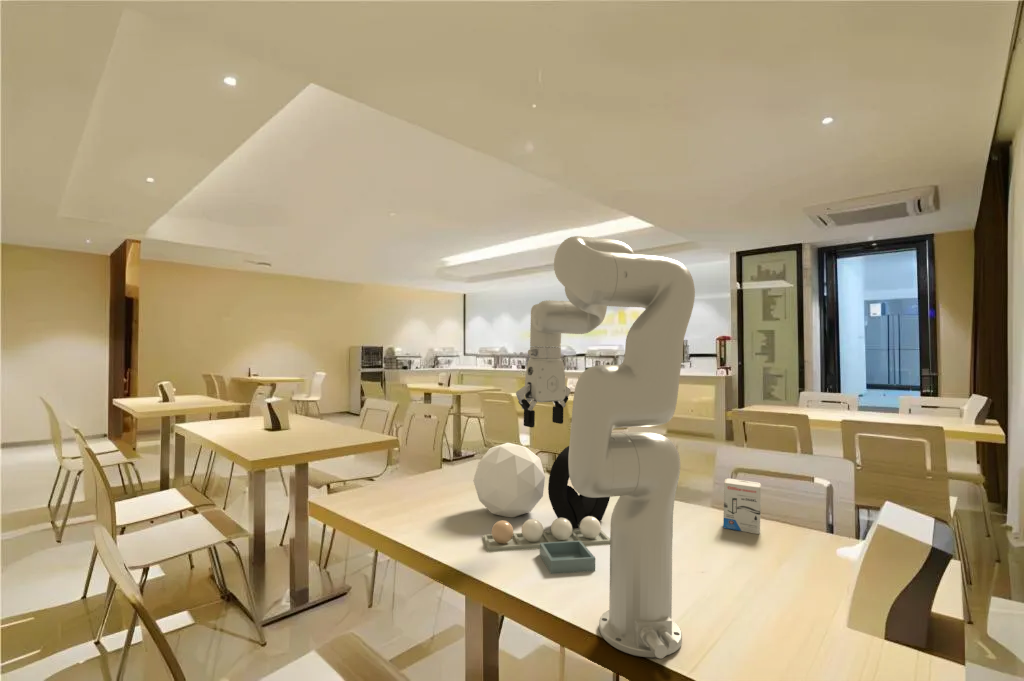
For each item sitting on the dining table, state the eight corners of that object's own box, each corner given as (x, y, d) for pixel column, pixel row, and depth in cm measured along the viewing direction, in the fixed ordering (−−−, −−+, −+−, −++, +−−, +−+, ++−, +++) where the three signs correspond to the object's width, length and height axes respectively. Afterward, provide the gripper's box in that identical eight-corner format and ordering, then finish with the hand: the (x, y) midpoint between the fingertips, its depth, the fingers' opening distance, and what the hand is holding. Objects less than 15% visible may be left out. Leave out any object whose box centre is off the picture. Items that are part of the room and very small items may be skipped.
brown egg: (515, 546, 110) (515, 524, 110) (493, 548, 109) (493, 525, 109) (511, 538, 115) (511, 516, 115) (489, 539, 114) (490, 517, 114)
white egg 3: (604, 541, 114) (604, 519, 114) (583, 542, 113) (583, 520, 113) (596, 533, 119) (596, 512, 119) (576, 534, 118) (576, 513, 118)
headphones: (564, 535, 118) (565, 452, 119) (545, 527, 123) (547, 447, 124) (614, 520, 130) (615, 444, 130) (595, 513, 135) (596, 440, 135)
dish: (595, 573, 98) (595, 558, 98) (550, 576, 97) (551, 560, 97) (580, 554, 107) (580, 540, 107) (539, 556, 106) (539, 542, 106)
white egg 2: (575, 543, 112) (575, 521, 112) (554, 544, 111) (554, 522, 111) (568, 535, 117) (568, 514, 117) (548, 536, 116) (548, 515, 116)
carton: (613, 546, 112) (613, 541, 112) (487, 554, 106) (487, 548, 106) (599, 532, 121) (599, 527, 121) (481, 538, 115) (482, 533, 115)
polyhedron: (489, 540, 132) (449, 476, 136) (538, 500, 145) (501, 443, 149) (520, 524, 118) (475, 454, 122) (572, 482, 131) (529, 419, 135)
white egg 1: (545, 544, 111) (545, 522, 111) (523, 546, 110) (524, 523, 110) (540, 536, 116) (540, 515, 116) (519, 537, 115) (519, 516, 115)
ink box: (722, 528, 125) (723, 482, 125) (724, 522, 130) (724, 477, 130) (760, 534, 121) (760, 486, 121) (760, 528, 126) (761, 482, 126)
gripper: (529, 355, 111) (527, 430, 111) (580, 355, 122) (579, 423, 122) (508, 354, 117) (506, 425, 117) (559, 354, 128) (557, 419, 128)
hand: (543, 424), depth 119 cm, fingers open, 9 cm apart
